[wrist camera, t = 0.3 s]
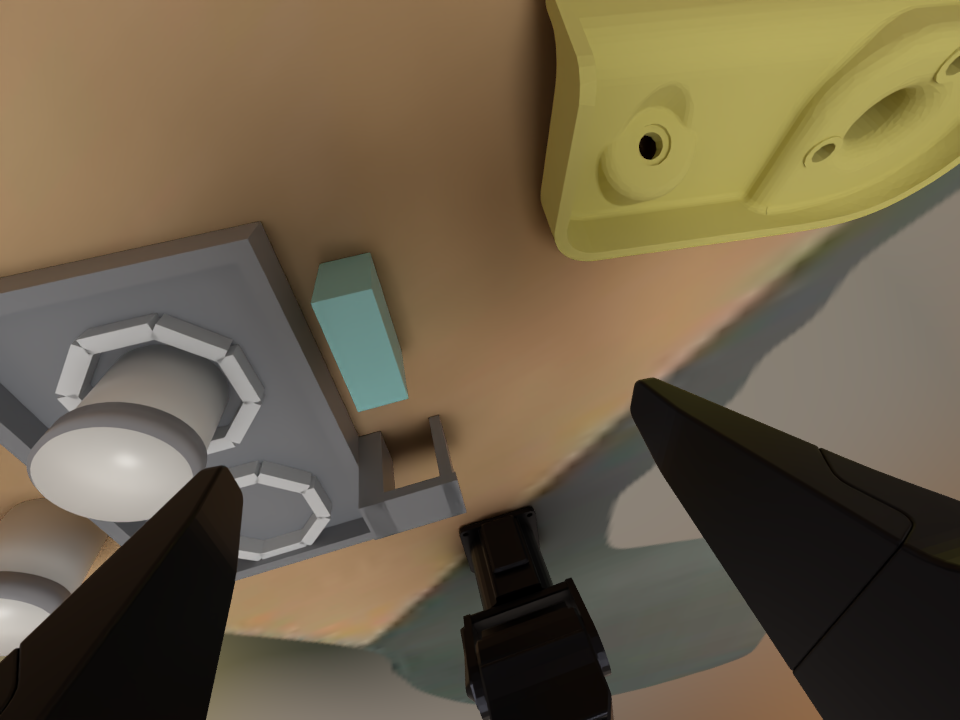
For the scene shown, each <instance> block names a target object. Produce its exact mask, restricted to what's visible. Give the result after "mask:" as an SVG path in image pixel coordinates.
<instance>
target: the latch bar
mask: <svg viewBox="0 0 960 720" xmlns="http://www.w3.org/2000/svg"><path fill="white" fill-rule="evenodd" d="M311 305H312V308H313V310H314V312H315V315H316V317H317V319H318V321H319V324H320V326H321V328H322V331H323V333H324V335H325V337H326V340H327V342H328V344H329V347H330V349H331V351H332V353H333V356H334V358H335V360H336V363H337V365H338V367H339V369H340V372H341V374H342V376H343V379H344V381H345V383H346V385H347V388H348V390H349V392H350V395H351V397H352V399H353V401H354V404H355V406H356V408H357V411H358V412H360V411H364V410H368V409H372V408H375V407H379V406H383V405H386V404H390V403H394V402H397V401H401V400H405V399H409V398H408V392H407V385H406V378H405V371H404V365H403V358H402V351H401V348H400V345H399V342H398V338H397V335H396V332H395V329H394V326H393V323H392V320H391V316H390V313H389V310H388V307H387V304H386V301H385V298H384V294H383V291H382V288H381V285H380V282H379V279H378V276H377V273H376V269H375V266H374V263H373V260H372V257H371V254H370V252H369V253H365V254H360V255H356V256H352V257H347V258H343V259H339V260H335V261H330V262H326V263H322V264H320V265H319V269H318V273H317V278H316V282H315V287H314V291H313V295H312V300H311Z"/></svg>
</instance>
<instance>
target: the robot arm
mask: <svg viewBox="0 0 960 720" xmlns="http://www.w3.org/2000/svg"><path fill="white" fill-rule="evenodd" d="M630 411H631V415H632V418H633V420H634V422H635V424H636V426H637V428H638V429H639V431H640V433H641V435H642V437H643V439H644V441H645V443H646V445H647V447H648V449H649V451H650V453H651V455H652V457H653V459H654V461H655V463H656V464H657V466H658V468H659V470H660V471H661V473H662V475H663V476H664V478H665V479H666V481H667V482H668V484H669V486H670V487H671V489H672V490H673V492H674V493H675V495H676V496H677V498H678V499H679V501H680V502H681V504H682V505H683V507H684V508H685V510H686V511H687V513H688V514H689V516H690V517H691V519H692V520H693V522H694V524H695V525H696V526H697V528H698V530H699V531H700V533H701V534H702V536H703V537H704V539H705V540H706V542H707V543H708V545H709V546H710V548H711V549H712V551H713V552H714V554H715V555H716V557H717V558H718V560H719V561H720V563H721V565H722V566H723V568H724V569H725V571H726V572H727V574H728V575H729V577H730V578H731V580H732V581H733V583H734V584H735V586H736V587H737V589H738V590H739V592H740V593H741V595H742V596H743V598H744V599H745V601H746V602H747V604H748V606H749V607H750V609H751V610H752V612H753V613H754V615H755V616H756V618H757V619H758V621H759V622H760V624H761V625H762V627H763V628H764V630H765V631H766V633H767V634H768V636H769V637H770V639H771V640H772V642H773V643H774V645H775V647H776V648H777V649H778V651H779V653H780V654H781V656H782V657H783V659H784V660H785V662H786V663H787V665H788V666H789V667H790V669H791V670H793V674H794V676H795V677H796V679H797V680H798V682H799V683H800V685H801V686H802V688H803V690H804V691H805V692H806V694H807V696H808V697H809V699H810V700H811V702H812V703H813V704H814V706H815V708H816V709H817V711H818V712H819V714H820V715H821V717H822V718H823V720H960V501H958V500H956V499H953V498H950V497H947V496H945V495H942V494H939V493H936V492H933V491H931V490H928V489H925V488H922V487H920V486H917V485H914V484H911V483H909V482H906V481H903V480H901V479H898V478H895V477H893V476H890V475H887V474H885V473H882V472H879V471H877V470H874V469H871V468H869V467H866V466H864V465H862V464H859V463H857V462H854V461H852V460H849V459H847V458H844V457H842V456H839V455H837V454H835V453H832V452H830V451H828V450H825V449H823V448H818V447H817V446H815V445H813V444H811V443H808V442H806V441H804V440H801V439H799V438H797V437H794V436H792V435H789V434H787V433H785V432H782V431H780V430H777V429H775V428H773V427H770V426H768V425H766V424H763V423H761V422H758V421H756V420H754V419H751V418H749V417H747V416H744V415H741V414H739V413H737V412H735V411H732V410H730V409H728V408H725V407H723V406H720V405H718V404H716V403H713V402H711V401H709V400H706V399H704V398H701V397H699V396H697V395H694V394H692V393H690V392H687V391H685V390H682V389H680V388H678V387H675V386H673V385H671V384H668V383H666V382H663V381H661V380H659V379H656V378H647V379H642V380H638V381H637V382H636V383H635V385H634V390H633V395H632V401H631V406H630ZM242 511H243V494H242V491H241V489H240V487H239V486H238V484H237V482H236V480H235V479H234V477H233V475H232V474H231V472H230V470H229V469H228V467H226V466H224V465H219V466H214V467H209V468H205V469H202V470H200V471H199V472H198V473H197V474H196V475H195V476H194V477H193V478H192V479H191V480H190V481H189V482H188V483H187V484H186V485H185V486H183V487H182V488H181V489H180V490H179V491H178V492H177V493H176V494H175V495H174V496H173V497H172V498H171V499H170V500H169V501H168V502H167V503H166V504H165V505H164V506H163V507H162V508H161V509H160V510H159V511H157V512H156V513H155V514H154V515H153V516H152V517H151V518H150V519H149V520H148V521H147V522H146V523H145V524H144V525H143V526H142V527H141V528H140V529H139V530H138V531H137V532H136V533H135V534H134V535H132V536H131V537H130V538H129V539H128V540H127V541H126V542H125V543H124V544H123V545H122V546H121V547H120V548H119V549H118V550H117V551H116V552H115V553H114V554H113V555H112V556H111V557H110V558H109V559H107V560H106V561H105V562H104V563H103V564H102V565H101V566H100V567H99V568H98V569H97V570H96V571H95V572H94V573H93V574H92V575H91V576H90V577H89V578H88V579H87V580H86V581H85V582H84V583H83V584H81V585H80V586H79V587H78V588H77V589H76V590H75V591H74V592H73V593H72V594H71V595H70V596H69V597H68V598H67V599H66V600H65V601H64V602H63V603H62V604H61V605H60V606H59V607H58V608H56V609H55V610H54V611H53V612H52V613H51V614H50V615H49V616H48V617H47V618H46V619H45V620H44V621H43V622H42V623H41V624H40V625H39V626H38V627H37V628H36V629H35V630H34V631H32V632H31V633H30V634H29V635H28V636H27V637H26V638H25V639H24V640H23V641H22V642H21V643H20V646H19V648H15V649H14V650H13V651H12V652H10V653H9V654H8V655H7V656H6V657H5V658H4V659H3V660H2V661H1V662H0V720H206V716H207V712H208V707H209V703H210V698H211V693H212V688H213V684H214V679H215V674H216V670H217V665H218V660H219V655H220V651H221V646H222V641H223V637H224V632H225V627H226V622H227V618H228V613H229V608H230V603H231V599H232V594H233V589H234V584H235V579H236V573H237V565H238V555H239V544H240V533H241V522H242ZM459 534H460V538H461V541H462V544H463V547H464V551H465V554H466V557H467V560H468V563H469V566H470V569H471V572H473V573H475V576H476V580H477V584H478V589H479V593H480V597H481V602H482V606H483V610H484V611H481V612H478V613H475V614H473V615H471V614H469V615H466V616H463V618H464V627H463V628H462V629H461V630H460V631H461V637H462V642H463V648H464V656H465V685H466V693H467V696H468V697H469V698H470V699H471V700H473V701H474V702H476V705H477V708H478V709H479V711H480V714H481V716H482V719H483V720H614V718H613V708H612V698H611V693H610V689H609V687H608V684H607V682H606V679H605V677H606V676H608V675H611V669H610V665H609V662H608V659H607V656H606V653H605V650H604V647H603V645H602V642H601V640H600V637H599V635H598V632H597V630H596V628H595V626H594V623H593V621H592V619H591V617H590V615H589V613H588V611H587V609H586V607H585V605H584V602H583V600H582V598H581V596H580V594H579V592H578V590H577V588H576V586H575V584H574V582H573V580H572V578H568V579H566V580H565V581H564V582H561V583H558V584H556V585H553V583H552V580H551V578H550V575H549V572H548V570H547V567H546V565H545V562H544V559H543V557H542V554H541V551H540V546H539V538H538V530H537V522H536V514H535V511H534V509H533V508H532V507H528V508H524V509H521V510H518V511H515V512H511V513H508V514H505V515H501V516H498V517H495V518H492V519H488V520H485V521H482V522H479V523H475V524H472V525H469V526H466V527H463V528H461V529H460V530H459Z"/></svg>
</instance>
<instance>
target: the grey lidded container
mask: <svg viewBox="0 0 960 720" xmlns="http://www.w3.org/2000/svg"><path fill="white" fill-rule="evenodd" d="M107 537H108V535H107V534H106V533H105V532H104V531H103V530H101V529H100V528H99V527H98V526H97V525H96V524H94V523H93V522H92V521H91V520H90V519H89V518H87V517H83V516H79V515H77V514H74V513H71V512H69V511H66V510H64V509H62V508H60V507H58V506H57V505H55V504H53V503H52V502H51V501H49V500H48V499H46V498H40V499H33V500H29V501H25V502H22V503H20V504H18V505H16V506H14V507H13V508H11V509H10V510H9V511H8V512H7V514H6V515H5V516H4V517H3V518H2V520H1V521H0V656H7V655H8V654H9V653H10V652H12V651H13V650H14V649H15V648H19V646H20V643H21V642H22V641H23V640H24V639H25V638H26V637H27V636H28V635H29V634H30V633H31V632H32V631H34V630H35V629H36V628H37V627H38V626H39V625H40V624H41V623H42V622H43V621H44V620H45V619H46V618H47V617H48V616H49V615H50V614H51V613H52V612H53V611H54V610H55V609H56V608H58V607H59V606H60V605H61V604H62V603H63V602H64V601H65V600H66V599H67V598H68V597H69V596H70V595H71V594H72V593H73V592H74V591H75V590H76V589H77V588H78V587H79V586H80V585H81V584H82V582H83V580H84V578H85V577H86V575H87V573H88V571H89V569H90V568H91V566H92V564H93V562H94V560H95V559H96V557H97V555H98V553H99V551H100V550H101V548H102V546H103V544H104V543H105V541H106V539H107Z"/></svg>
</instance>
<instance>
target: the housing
mask: <svg viewBox="0 0 960 720" xmlns="http://www.w3.org/2000/svg"><path fill="white" fill-rule="evenodd" d="M148 345H171V346H173V347H176V348H179V349H182V350H185V351H188V352H190V353H193V354H196V355H199V356H202V357H204V358H207V359H209V360H210V361H211V362H213V363H214V364H215V365H216V366H217V367H218V368H219V369H220V370H221V372H222V373H223V374H224V376H225V378H226V380H227V382H228V385H229V399H228V402H227V404H226V407H225V409H224V411H223V414H222V416H221V419H220V421H219V423H218V426H217V428H216V431H215V433H214V435H213V438H212V440H211V443H210V445H209V447H208V450H207V465H206V468H209V467H214V466H219V465H224V466H226V467H228V469H229V470H230V472H231V474H232V475H233V477H234V479H235V480H236V482H237V484H238V486H239V487H240V489H241V491H242V494H243V511H242V522H241V533H240V544H239V555H238V565H237V573H236V579H235V581H236V580H240V579H243V578H246V577H250V576H253V575H256V574H259V573H263V572H266V571H269V570H273V569H276V568H279V567H283V566H286V565H289V564H293V563H296V562H299V561H302V560H306V559H309V558H312V557H316V556H319V555H322V554H326V553H329V552H332V551H336V550H339V549H342V548H345V547H349V546H352V545H355V544H359V543H362V542H365V541H369V540H372V539H375V540H377V539H380V538H384V537H387V536H390V535H394V534H397V533H400V532H403V531H407V530H410V529H413V528H417V527H420V526H423V525H427V524H430V523H433V522H436V521H440V520H443V519H446V518H450V517H453V516H456V515H460V514H463V513H466V508H465V504H464V501H463V497H462V494H461V490H460V487H459V483H458V480H457V476H456V473H455V472H454V470H453V466H452V462H451V457H450V453H449V449H448V445H447V442H446V438H445V435H444V431H443V428H442V424H441V421H440V417H439V415H437V416H434V417H430V418H429V423H430V428H431V433H432V438H433V443H434V448H435V453H436V458H437V463H438V468H439V473H440V476H439V477H436V478H432V479H429V480H425V481H422V482H418V483H415V484H412V485H408V486H405V487H401V488H398V489H395V480H394V468H393V461H392V458H391V456H390V453H389V451H388V449H387V446H386V444H385V441H384V439H383V436H382V434H381V431H379V432H376V433H372V434H368V435H365V436H361V437H359V436H358V434H357V432H356V430H355V427H354V425H353V423H352V421H351V419H350V416H349V414H348V412H347V410H346V408H345V405H344V403H343V401H342V399H341V397H340V395H339V392H338V390H337V388H336V386H335V384H334V381H333V379H332V377H331V375H330V373H329V370H328V368H327V366H326V364H325V362H324V360H323V357H322V355H321V353H320V351H319V349H318V346H317V344H316V342H315V340H314V338H313V335H312V333H311V331H310V329H309V327H308V325H307V322H306V320H305V318H304V316H303V314H302V311H301V309H300V307H299V305H298V303H297V300H296V298H295V296H294V294H293V292H292V289H291V287H290V285H289V283H288V281H287V279H286V276H285V274H284V272H283V270H282V268H281V265H280V263H279V261H278V259H277V257H276V254H275V252H274V250H273V248H272V246H271V244H270V241H269V239H268V237H267V235H266V233H265V230H264V228H263V226H262V224H261V222H260V221H259V222H254V223H250V224H245V225H241V226H236V227H231V228H227V229H222V230H218V231H213V232H209V233H204V234H199V235H195V236H190V237H186V238H181V239H176V240H172V241H167V242H163V243H158V244H154V245H149V246H144V247H140V248H135V249H131V250H126V251H121V252H117V253H112V254H108V255H103V256H99V257H94V258H89V259H85V260H80V261H76V262H71V263H67V264H62V265H57V266H53V267H48V268H44V269H39V270H34V271H30V272H25V273H21V274H16V275H12V276H7V277H2V278H0V444H1V445H2V446H4V447H5V448H6V449H7V450H8V451H9V452H11V453H12V454H13V455H14V456H15V457H17V458H18V459H19V460H20V461H21V462H22V463H24V464H25V465H26V466H27V464H26V463H27V458H28V455H29V453H30V450H31V449H32V448H33V446H34V445H35V444H36V443H37V442H38V440H39V439H40V438H41V437H42V436H43V435H44V434H45V433H46V432H47V430H48V429H49V428H50V427H51V426H52V425H53V424H54V423H55V422H56V421H57V420H58V419H59V418H60V417H61V416H63V415H64V414H66V413H68V412H69V411H72V410H74V409H75V408H76V407H77V406H78V405H79V404H80V403H81V401H82V400H83V399H84V398H85V397H86V396H87V395H88V393H89V392H90V391H91V390H92V389H93V388H94V387H95V385H96V384H97V383H98V382H99V381H100V380H101V379H102V377H103V376H104V375H105V374H106V373H107V372H108V371H109V369H110V368H111V367H112V366H113V365H114V364H115V363H116V361H117V360H118V359H119V358H120V357H121V356H123V355H124V354H126V353H127V352H129V351H131V350H133V349H136V348H139V347H142V346H148ZM89 519H90V520H91V521H92V522H93V523H94V524H96V525H97V526H98V527H99V528H100V529H101V530H103V531H104V532H105V533H106V534H107V535H109V536H110V537H111V538H112V539H113V540H114V541H116V542H117V543H118V544H119V545H120V546H122V545H123V544H124V543H125V542H126V541H127V540H128V539H129V538H130V537H131V536H132V535H134V534H135V533H136V532H137V531H138V530H139V529H140V528H141V527H142V526H143V525H144V524H145V523H146V522H147V521H148V520H149V519H148V520H142V521H134V522H110V521H102V520H96V519H91V518H89Z"/></svg>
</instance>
